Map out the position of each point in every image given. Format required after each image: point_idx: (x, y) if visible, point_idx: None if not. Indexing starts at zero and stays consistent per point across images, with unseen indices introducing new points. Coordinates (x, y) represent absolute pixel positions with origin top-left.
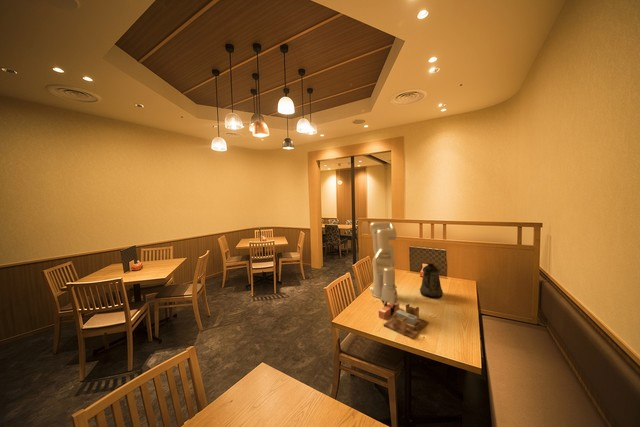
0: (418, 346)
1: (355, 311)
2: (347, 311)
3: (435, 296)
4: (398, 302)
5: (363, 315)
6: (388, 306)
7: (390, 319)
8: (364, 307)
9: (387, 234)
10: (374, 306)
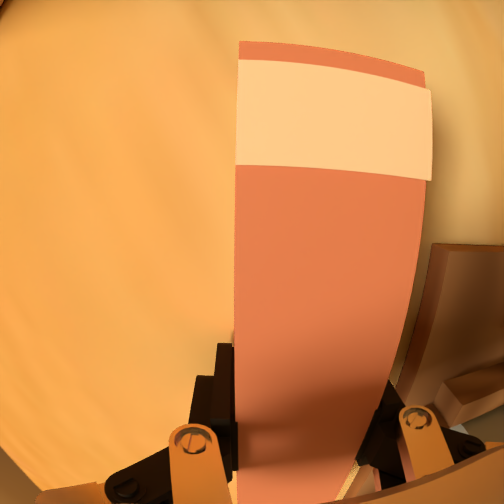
0: None
1: (53, 475)
2: (38, 483)
3: None
4: (425, 92)
5: None
6: (292, 454)
7: (370, 475)
8: (15, 405)
9: None
10: (27, 331)
